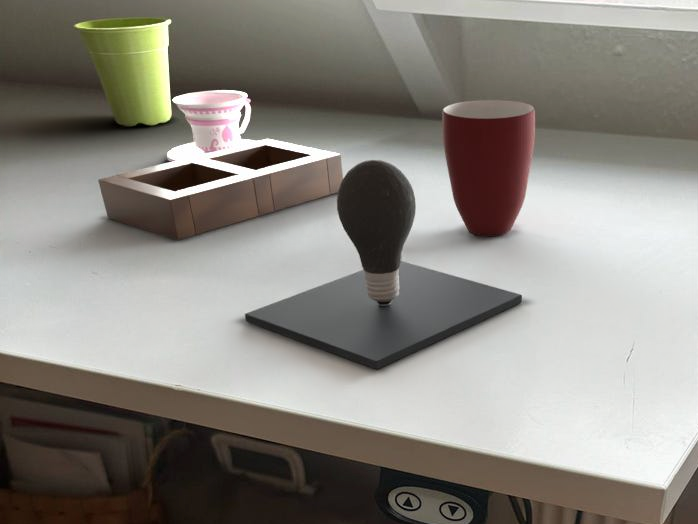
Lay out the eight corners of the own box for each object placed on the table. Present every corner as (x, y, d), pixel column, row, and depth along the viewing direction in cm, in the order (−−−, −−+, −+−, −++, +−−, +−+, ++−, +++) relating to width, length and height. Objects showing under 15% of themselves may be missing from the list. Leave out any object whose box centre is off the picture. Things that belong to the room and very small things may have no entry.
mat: (377, 369, 64) (376, 361, 64) (245, 321, 71) (244, 313, 71) (522, 302, 73) (522, 294, 73) (393, 265, 80) (392, 258, 80)
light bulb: (351, 320, 69) (336, 173, 63) (344, 294, 73) (329, 153, 67) (426, 314, 70) (419, 167, 64) (415, 288, 74) (406, 148, 68)
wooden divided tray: (178, 240, 86) (169, 199, 84) (107, 218, 92) (97, 179, 90) (344, 190, 98) (340, 154, 96) (272, 173, 104) (267, 138, 102)
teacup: (200, 175, 104) (188, 112, 100) (149, 156, 111) (136, 97, 107) (291, 156, 110) (283, 96, 106) (237, 139, 117) (228, 82, 113)
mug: (416, 220, 90) (410, 102, 84) (486, 206, 93) (485, 91, 87) (476, 249, 83) (474, 123, 77) (550, 232, 87) (553, 110, 80)
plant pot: (204, 113, 129) (186, 16, 122) (163, 133, 121) (141, 29, 113) (126, 110, 131) (105, 14, 124) (80, 129, 123) (54, 27, 115)
